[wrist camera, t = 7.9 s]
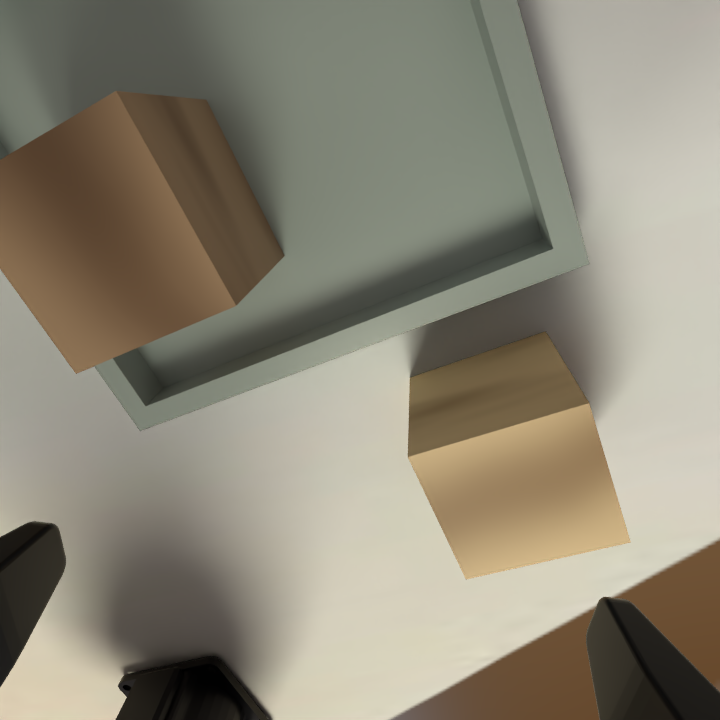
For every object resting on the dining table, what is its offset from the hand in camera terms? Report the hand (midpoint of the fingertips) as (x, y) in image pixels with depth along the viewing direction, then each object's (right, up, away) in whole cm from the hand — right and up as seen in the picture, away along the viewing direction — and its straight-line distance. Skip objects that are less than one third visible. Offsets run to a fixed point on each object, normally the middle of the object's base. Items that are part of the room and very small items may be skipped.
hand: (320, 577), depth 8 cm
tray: (-3, +10, +7) cm, 13 cm away
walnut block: (-5, +8, +8) cm, 13 cm away
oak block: (+6, +2, +11) cm, 12 cm away
